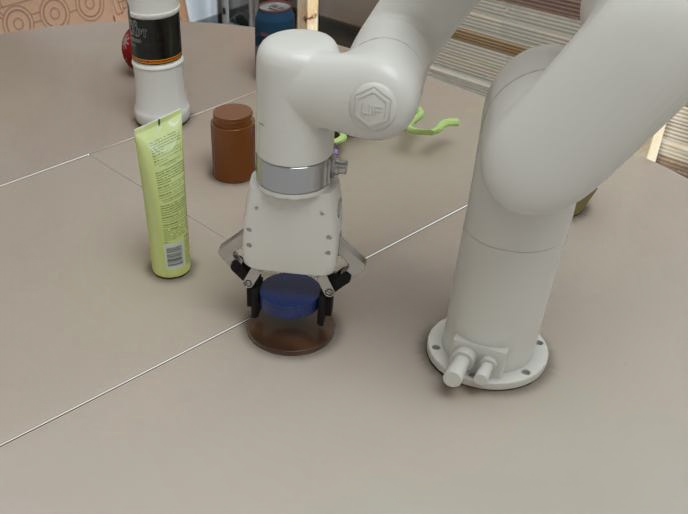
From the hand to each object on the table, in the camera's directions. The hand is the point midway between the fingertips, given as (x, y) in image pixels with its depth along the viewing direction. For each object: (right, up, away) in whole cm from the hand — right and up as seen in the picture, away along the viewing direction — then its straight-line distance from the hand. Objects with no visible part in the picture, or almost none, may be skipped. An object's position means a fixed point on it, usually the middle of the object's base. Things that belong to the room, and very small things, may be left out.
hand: (289, 313), depth 93 cm
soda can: (+3, +51, +56) cm, 76 cm away
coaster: (0, -1, +1) cm, 2 cm away
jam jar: (-5, +25, +30) cm, 39 cm away
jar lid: (0, +2, -2) cm, 3 cm away
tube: (-14, +7, +12) cm, 20 cm away
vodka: (-17, +39, +45) cm, 61 cm away
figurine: (+15, +33, +36) cm, 51 cm away
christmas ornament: (-21, +53, +61) cm, 83 cm away
